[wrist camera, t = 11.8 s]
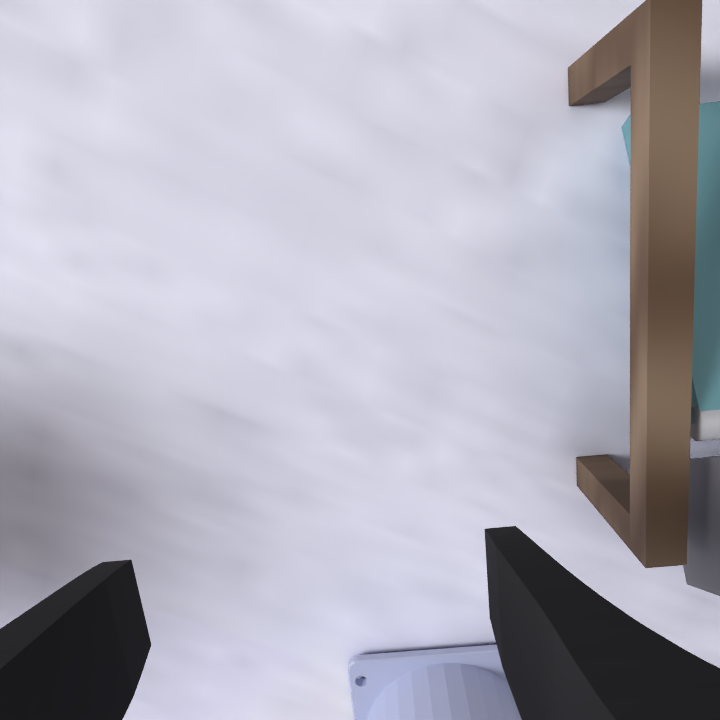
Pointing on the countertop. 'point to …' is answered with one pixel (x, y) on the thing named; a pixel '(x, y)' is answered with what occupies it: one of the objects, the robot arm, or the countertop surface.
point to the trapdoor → (704, 358)
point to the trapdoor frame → (653, 270)
